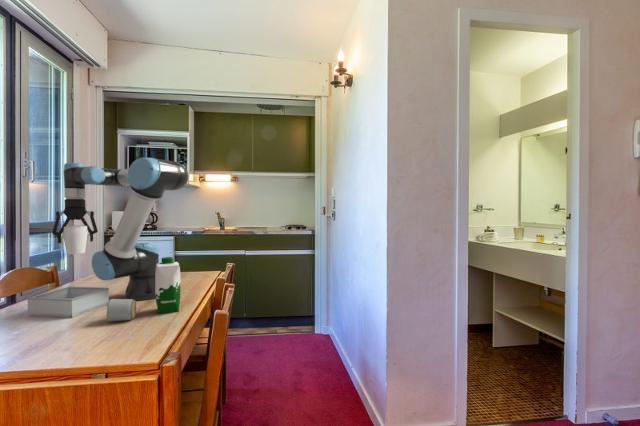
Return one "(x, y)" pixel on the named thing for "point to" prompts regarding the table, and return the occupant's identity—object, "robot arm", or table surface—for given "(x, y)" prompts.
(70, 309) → the crate
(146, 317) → the table surface
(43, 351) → the table surface
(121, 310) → the grey cylinder
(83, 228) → the cup
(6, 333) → the table surface
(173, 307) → the milk carton
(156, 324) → the table surface
